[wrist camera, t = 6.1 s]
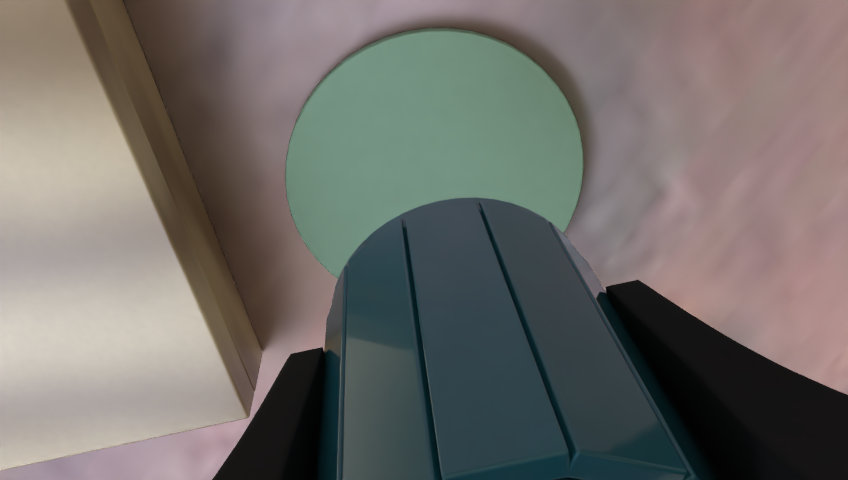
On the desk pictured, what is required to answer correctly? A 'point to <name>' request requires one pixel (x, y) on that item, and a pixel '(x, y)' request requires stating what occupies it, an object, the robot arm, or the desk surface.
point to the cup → (488, 360)
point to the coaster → (428, 138)
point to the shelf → (104, 249)
